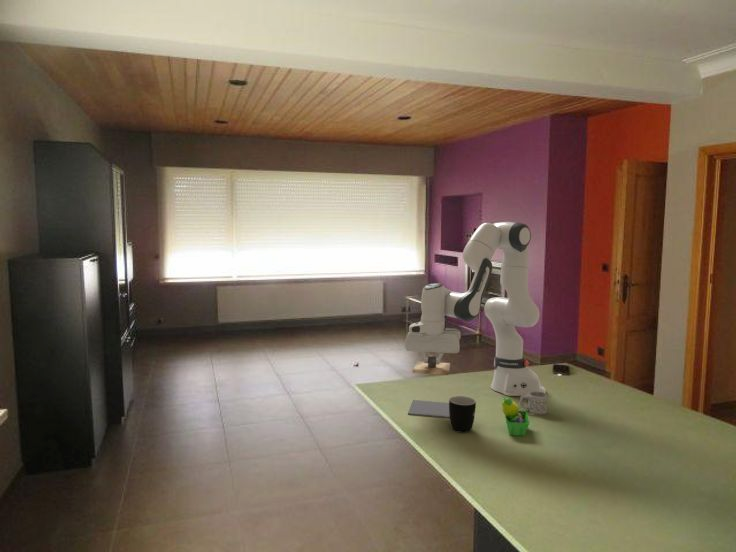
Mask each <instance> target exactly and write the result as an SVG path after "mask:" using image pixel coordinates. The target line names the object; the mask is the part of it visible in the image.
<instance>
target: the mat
mask: <svg viewBox="0 0 736 552" xmlns="http://www.w3.org/2000/svg"><path fill="white" fill-rule="evenodd" d="M407 415H410V416H419V417H421V416H422V417H423V416H424V417H430V418H431V417H433V418H443V419H450V415H449V402H445V401H444V402H443V401H442V402H441V401H430V400H420V399H417V400H416V399H412V402H411V404H410V407H409V409H408V411H407Z"/></svg>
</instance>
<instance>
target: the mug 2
mask: <svg viewBox="0 0 736 552" xmlns="http://www.w3.org/2000/svg"><path fill="white" fill-rule="evenodd" d="M524 399H527V400H528V402H527V403H528V405H523V401H524ZM519 408H521V409H524V410H527V411H528V412H529V413H531V414H534V415H546V414H547V410H548V394H547V393H546V394H545V393H543V392H530V393H529V395H526V396H520V398H519Z"/></svg>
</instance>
